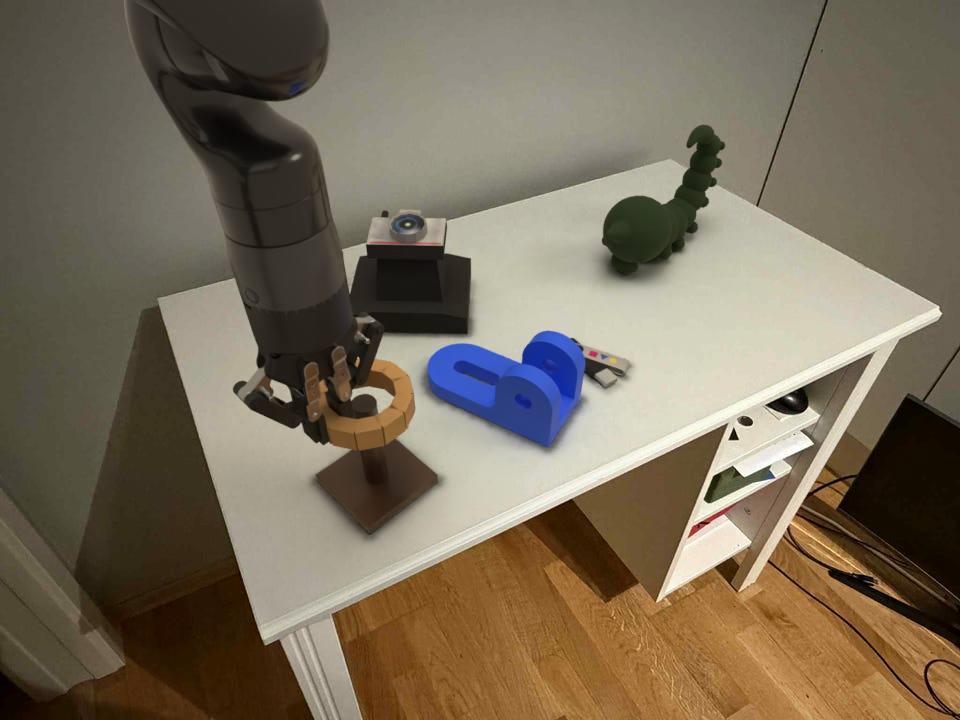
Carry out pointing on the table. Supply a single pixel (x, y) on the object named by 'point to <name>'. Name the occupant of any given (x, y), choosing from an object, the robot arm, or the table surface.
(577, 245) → the table surface
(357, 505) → the brown peg stand
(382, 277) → the camera
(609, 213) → the toy figurine
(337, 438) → the orange segmented ring
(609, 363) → the usb flash drive
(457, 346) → the bracket
